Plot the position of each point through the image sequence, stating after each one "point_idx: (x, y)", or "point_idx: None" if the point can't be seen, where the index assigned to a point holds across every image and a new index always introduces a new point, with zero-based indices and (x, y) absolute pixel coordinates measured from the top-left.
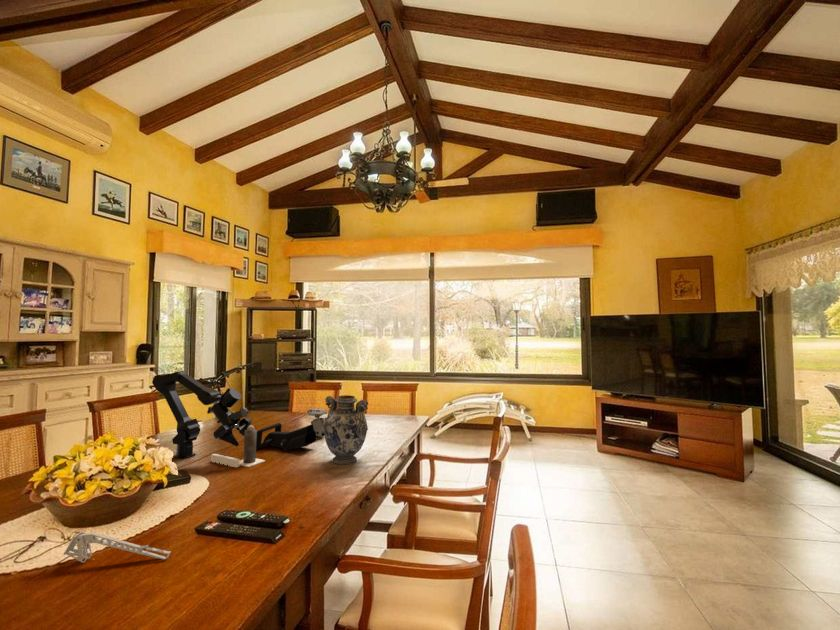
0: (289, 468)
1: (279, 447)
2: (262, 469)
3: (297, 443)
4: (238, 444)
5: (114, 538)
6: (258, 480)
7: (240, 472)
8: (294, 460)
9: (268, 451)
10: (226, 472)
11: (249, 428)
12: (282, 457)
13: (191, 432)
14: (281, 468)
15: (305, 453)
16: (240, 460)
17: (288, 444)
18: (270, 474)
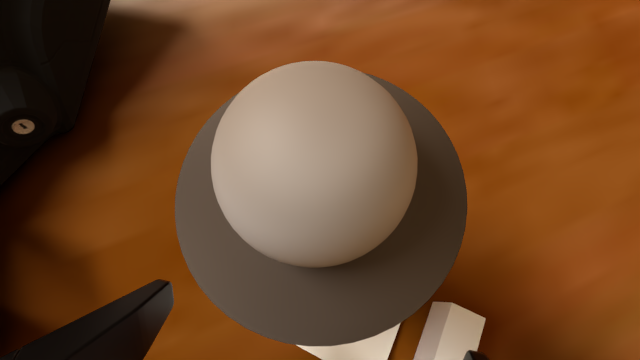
0: (407, 8)
1: (14, 168)
2: (454, 125)
3: (87, 3)
4: (482, 353)
5: None
6: (630, 79)
7: (545, 234)
8: (273, 25)
9: (64, 231)
10: (580, 340)
11: (413, 154)
12: (215, 98)
13: None
14: (415, 41)
15: (146, 13)
16: (311, 350)
17: (57, 73)
18: (522, 57)
